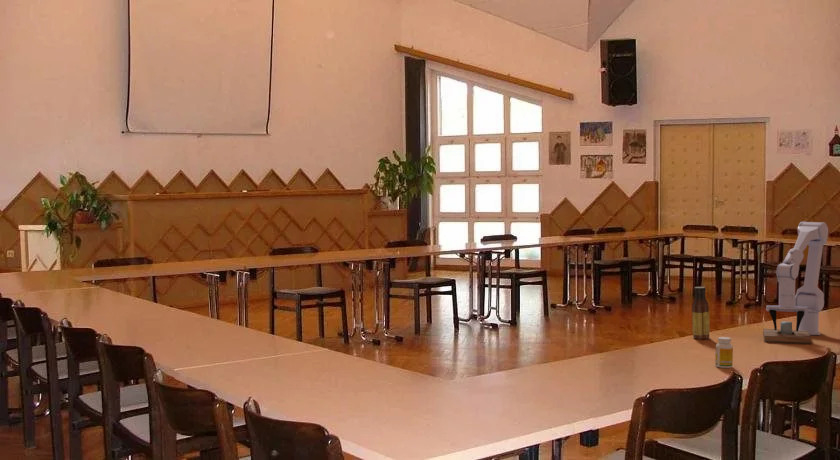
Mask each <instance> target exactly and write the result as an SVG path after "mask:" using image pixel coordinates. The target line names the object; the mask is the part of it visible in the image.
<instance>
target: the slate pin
mask: <svg viewBox="0 0 840 460" xmlns="http://www.w3.org/2000/svg"><path fill="white" fill-rule="evenodd" d="M780 329H781V334H791V335H792V330H793V322H791V321H785V320H784V321H780Z"/></svg>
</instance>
